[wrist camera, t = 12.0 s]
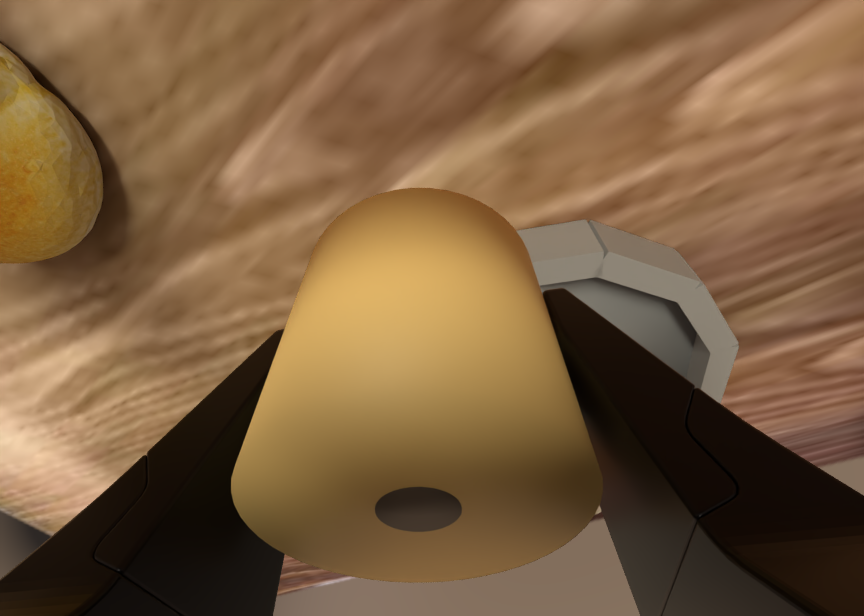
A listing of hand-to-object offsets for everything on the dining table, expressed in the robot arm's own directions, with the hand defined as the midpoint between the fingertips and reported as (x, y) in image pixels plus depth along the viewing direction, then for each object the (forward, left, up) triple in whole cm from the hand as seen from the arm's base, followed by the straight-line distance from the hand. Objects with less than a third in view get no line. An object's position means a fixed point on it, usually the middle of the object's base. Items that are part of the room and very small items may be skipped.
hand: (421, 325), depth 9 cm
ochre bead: (0, 0, -1) cm, 1 cm away
